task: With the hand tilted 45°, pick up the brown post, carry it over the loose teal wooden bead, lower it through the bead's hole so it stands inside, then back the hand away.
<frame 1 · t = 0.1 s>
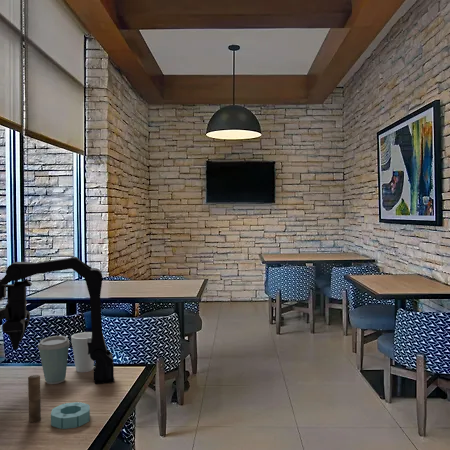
hand: (17, 345, 158), 15 cm above the table, tool pointing down, fingers open, 9 cm apart
disposable coffee cup: (54, 381, 166), on the table
foam cup: (84, 369, 178), on the table
brown post: (34, 419, 135), on the table
bead: (70, 420, 135), on the table
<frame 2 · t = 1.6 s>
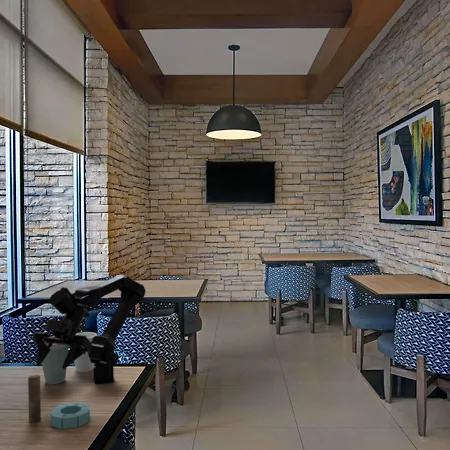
hand: (50, 367, 142), 13 cm above the table, tool tilted 45°, fingers open, 9 cm apart
nothing on the table moved.
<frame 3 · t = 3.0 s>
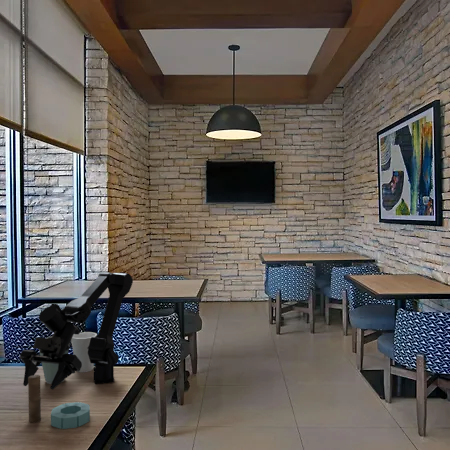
hand: (37, 387, 136), 9 cm above the table, tool tilted 45°, fingers open, 9 cm apart
nothing on the table moved.
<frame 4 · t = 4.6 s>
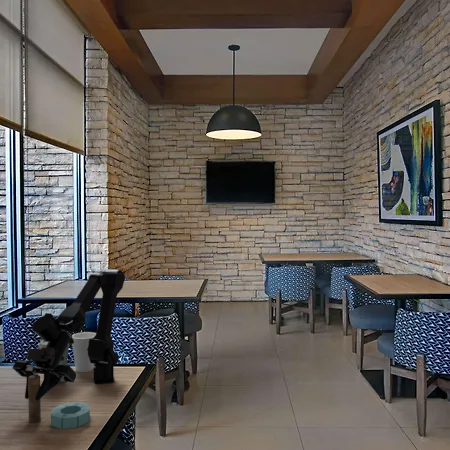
hand: (31, 399, 134), 7 cm above the table, tool tilted 45°, fingers closed on brown post, 3 cm apart
brown post: (34, 419, 135), on the table, touching gripper
everything else where it was.
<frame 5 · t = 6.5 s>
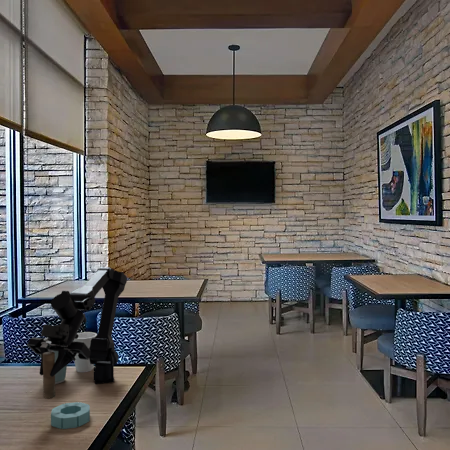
hand: (45, 375, 133), 13 cm above the table, tool tilted 45°, fingers closed on brown post, 3 cm apart
brown post: (49, 396, 135), point 7 cm above the table, touching gripper
everything else where it was.
when the fingers open (8 cm above the table, at t = 8.6 s): brown post drops 1 cm, resting in bead.
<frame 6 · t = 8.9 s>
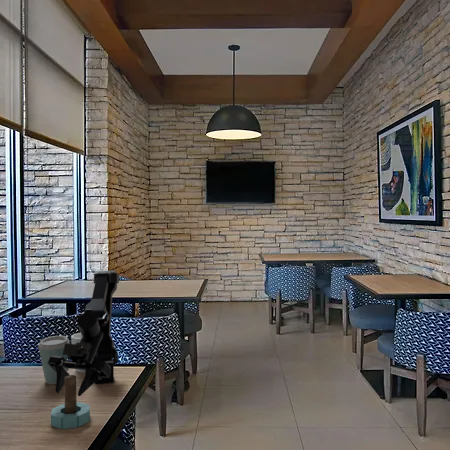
hand: (67, 394, 133), 8 cm above the table, tool tilted 45°, fingers open, 7 cm apart
brown post: (70, 420, 135), resting in bead
everything else where it was.
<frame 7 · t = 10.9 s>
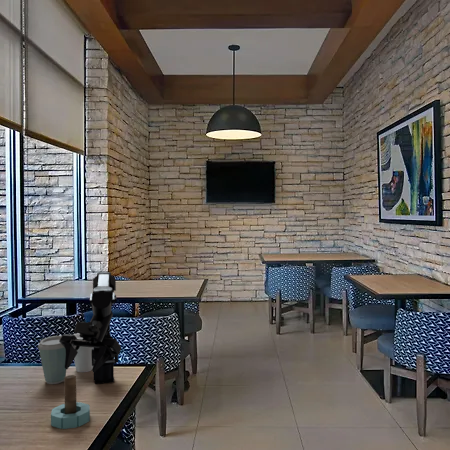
hand: (79, 370, 139), 13 cm above the table, tool tilted 45°, fingers open, 9 cm apart
nothing on the table moved.
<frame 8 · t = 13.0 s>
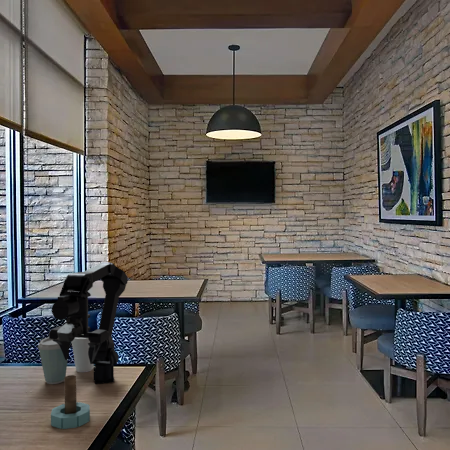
hand: (79, 361, 151), 12 cm above the table, tool pointing down, fingers open, 9 cm apart
nothing on the table moved.
at the end: brown post 0.0 cm off-centre on the bead, point 0.0 cm above the bead's base; brown post tilted 0°; the gripper is holding nothing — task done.
